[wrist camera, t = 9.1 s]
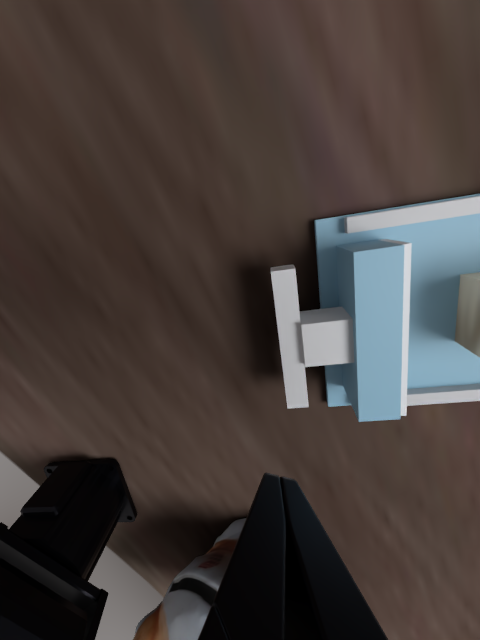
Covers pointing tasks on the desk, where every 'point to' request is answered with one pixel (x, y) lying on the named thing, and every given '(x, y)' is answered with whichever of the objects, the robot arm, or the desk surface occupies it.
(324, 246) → the vise base
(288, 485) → the robot arm
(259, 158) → the desk surface
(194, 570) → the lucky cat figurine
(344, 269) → the sliding jaw
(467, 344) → the beech block
